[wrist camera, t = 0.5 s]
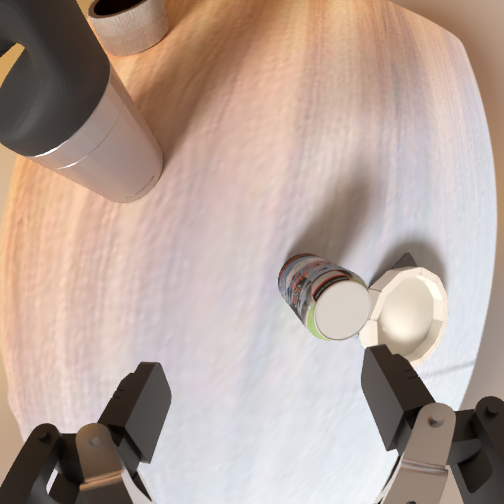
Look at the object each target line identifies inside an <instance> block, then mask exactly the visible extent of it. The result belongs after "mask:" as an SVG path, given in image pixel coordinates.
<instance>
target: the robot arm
mask: <svg viewBox="0 0 504 504" xmlns="http://www.w3.org/2000/svg"><path fill="white" fill-rule="evenodd" d="M16 43H19V44H21V45H23V46H24V47H25V49H24V50H23V52H22V53H21V55H20V56H19V58H18V59H17V61H16V62H15V64H14V65H13V67H12V68H11V70H10V71H9V73H8V75H7V76H6V78H5V80H4V82H3V83H2V85H1V88H0V143H1V144H3V145H4V146H5V147H7V148H9V149H10V150H13V151H15V152H16V153H18V154H20V155H22V156H24V157H26V158H28V159H30V160H32V161H34V162H36V163H38V164H40V165H42V166H44V167H46V168H48V169H50V170H52V171H54V172H56V173H58V174H60V175H62V176H64V177H66V178H68V179H70V180H72V181H74V182H76V183H78V184H80V185H82V186H84V187H86V188H88V189H90V190H92V191H94V192H95V193H97V194H99V195H101V196H103V197H105V198H107V199H109V200H112V201H115V202H120V203H126V202H132V201H135V200H137V199H139V198H141V197H143V196H144V195H146V194H147V193H148V192H149V191H150V190H151V189H152V188H153V187H154V185H155V184H156V183H157V181H158V179H159V177H160V175H161V172H162V168H163V153H162V150H161V147H160V145H159V143H158V142H157V140H156V139H155V137H154V135H153V134H152V132H151V130H150V128H149V127H148V125H147V123H146V122H145V120H144V118H143V117H142V115H141V113H140V112H139V110H138V108H137V107H136V105H135V103H134V102H133V100H132V98H131V96H130V95H129V93H128V91H127V90H126V88H125V86H124V85H123V83H122V81H121V79H120V78H119V76H118V75H117V73H116V71H115V69H114V68H113V66H112V64H111V62H110V61H109V59H108V57H107V55H106V53H105V52H104V50H103V48H102V47H101V45H100V43H99V42H98V40H97V38H96V36H95V35H94V33H93V31H92V29H91V28H90V26H89V24H88V22H87V20H86V19H85V17H84V15H83V13H82V11H81V9H80V7H79V5H78V4H77V1H76V0H0V57H1V56H2V55H3V54H5V53H6V52H7V51H8V50H9V49H10V48H11V47H12V46H14V45H15V44H16ZM361 386H362V390H363V393H364V395H365V397H366V400H367V402H368V405H369V407H370V410H371V412H372V415H373V417H374V420H375V422H376V425H377V427H378V430H379V433H380V435H381V438H382V440H383V443H384V446H385V448H386V451H390V450H393V449H397V451H398V454H399V455H398V457H397V459H396V461H395V463H394V465H393V467H392V470H391V472H390V474H389V476H388V478H387V480H386V482H385V484H384V486H383V488H382V490H381V492H380V494H379V495H378V497H377V499H376V500H375V502H374V504H439V502H440V499H441V496H442V493H443V490H444V487H445V484H446V481H447V477H448V470H446V469H445V466H446V465H450V467H451V470H452V472H453V475H454V478H455V480H456V483H457V485H458V488H459V491H460V494H461V496H462V499H463V502H464V504H504V402H503V401H502V400H501V399H499V398H497V397H493V396H489V397H484V398H482V399H481V400H480V401H479V402H478V403H477V405H476V407H475V409H470V410H463V411H453V409H452V408H451V407H449V406H448V405H446V404H443V403H436V402H435V400H434V399H433V397H432V396H431V394H430V392H429V391H428V389H427V388H426V386H425V385H424V383H423V382H422V380H421V379H420V377H418V374H417V373H416V371H415V370H413V367H412V365H411V364H410V362H409V361H408V360H407V359H406V358H404V357H403V356H401V355H400V354H398V353H397V354H393V355H392V353H391V351H390V350H389V348H388V347H387V345H386V344H380V345H375V346H370V347H366V349H365V353H364V360H363V367H362V374H361ZM170 404H171V390H170V387H169V385H168V382H167V379H166V377H165V374H164V371H163V368H162V366H161V364H160V363H158V362H141V363H140V364H139V365H138V367H137V369H136V371H135V372H134V373H130V374H129V375H127V376H126V377H125V378H124V379H123V380H122V381H121V382H120V384H119V386H118V387H117V391H115V392H114V394H113V398H111V399H110V401H109V403H108V404H107V406H106V408H105V410H104V411H103V413H102V415H101V417H100V418H99V420H98V422H97V423H91V424H87V425H85V426H83V427H82V428H81V429H80V430H79V431H78V433H73V434H63V433H60V432H59V430H58V429H57V428H56V427H55V426H54V425H52V424H49V423H45V424H41V425H39V426H37V427H36V428H35V429H34V430H33V431H32V433H31V434H30V436H29V437H28V439H27V441H26V442H25V444H24V446H23V447H22V449H21V451H20V452H19V454H18V456H17V458H16V460H15V461H14V463H13V465H12V467H11V468H10V470H9V472H8V474H7V476H6V478H5V480H4V481H3V484H2V485H1V487H0V504H156V502H155V500H154V498H153V497H152V495H151V493H150V491H149V489H148V487H147V485H146V483H145V481H144V479H143V477H142V475H141V473H140V471H139V470H138V468H137V467H138V465H139V462H143V463H148V464H150V462H151V459H152V456H153V453H154V450H155V447H156V445H157V442H158V439H159V436H160V433H161V430H162V427H163V424H164V421H165V418H166V415H167V413H168V410H169V407H170ZM54 468H55V469H56V470H57V471H58V474H57V476H56V478H55V481H54V483H53V485H52V487H51V490H50V492H49V494H47V491H46V485H47V483H48V481H49V479H50V476H51V474H52V472H53V470H54Z"/></svg>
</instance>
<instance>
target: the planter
mask: <svg viewBox="0 0 504 504" xmlns="http://www.w3.org/2000/svg"><path fill="white" fill-rule="evenodd" d="M88 16H89V18H90V20H91V22H92V24H93V26H94V28H95V30H96V32H97V34H98V36H99V38H100V40H101V42H102V44H103V45H104V47H105V49H106V50H107V51H108V53H110V54H112V55H114V56H128V55H133V54H137V53H140V52H142V51H145V50H147V49H148V48H150V47H152V46H154V45H155V44H156V43H158V42H159V41H160V40H161V39H162V38H163V37H164V36H165V35H166V33H167V31H168V29H169V20H168V16H167V12H166V8H165V4H164V0H94V1H93V2H92V4H91V5H90V7H89V8H88Z"/></svg>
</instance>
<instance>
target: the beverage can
mask: <svg viewBox="0 0 504 504" xmlns="http://www.w3.org/2000/svg"><path fill="white" fill-rule="evenodd" d="M278 287H279V290H280V293H281V295H282V296H283V298H284V299H285V300H286V302H287V303H288V304H289V306H290V307H291V308H292V310H293V311H294V312H295V314H296V315H297V316H298V318H299V319H300V320H301V322H302V323H303V324H304V325H305V327H306V328H307V329H308V331H309V332H310V333H311V334H313V335H314V336H316V337H318V338H319V339H323V340H329V341H343V340H347V339H349V338H352V337H353V336H355V335H356V334H358V333H359V332H360V331H361V330H362V329H363V327H364V326H365V325H366V323H367V321H368V319H369V317H370V313H371V298H370V295H369V291H368V289H367V286H366V284H365V283H364V281H363V280H362V279H361V278H360V277H359V276H358V275H357V274H355V273H353V272H351V271H349V270H347V269H345V268H342V267H340V266H338V265H336V264H334V263H331V262H329V261H327V260H325V259H322V258H320V257H318V256H316V255H313V254H305V253H304V254H299V255H296V256H294V257H292V258H290V259H289V260H288V261H287V262H286V263H285V264H284V265H283V267H282V269H281V271H280V273H279V277H278Z"/></svg>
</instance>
